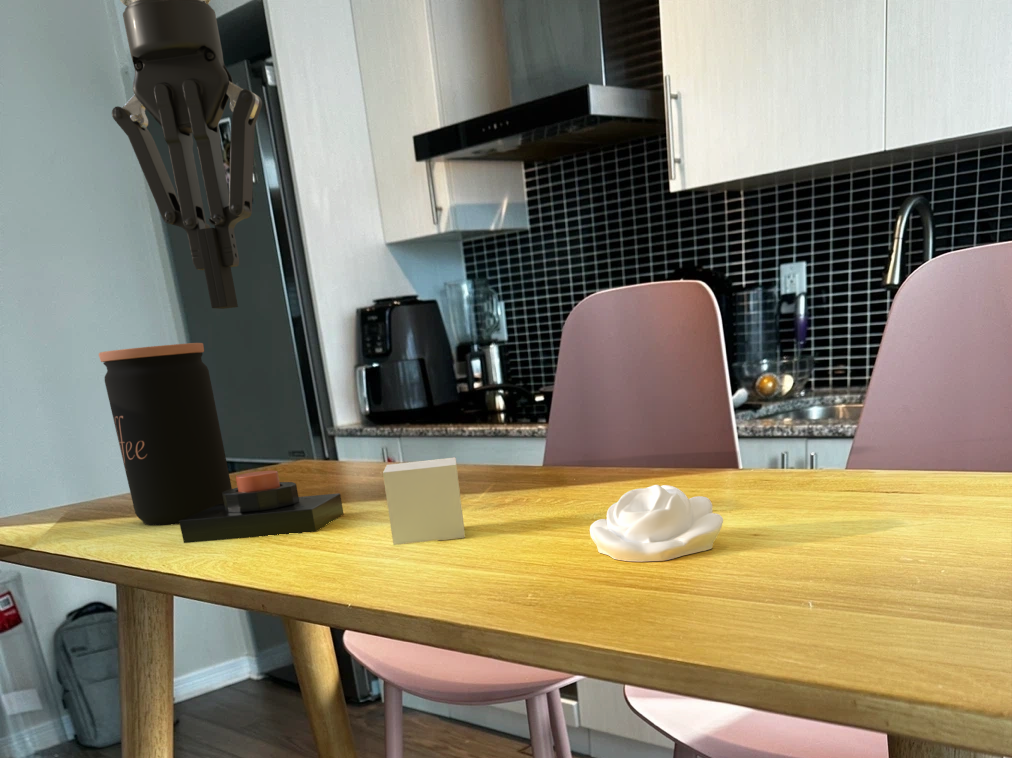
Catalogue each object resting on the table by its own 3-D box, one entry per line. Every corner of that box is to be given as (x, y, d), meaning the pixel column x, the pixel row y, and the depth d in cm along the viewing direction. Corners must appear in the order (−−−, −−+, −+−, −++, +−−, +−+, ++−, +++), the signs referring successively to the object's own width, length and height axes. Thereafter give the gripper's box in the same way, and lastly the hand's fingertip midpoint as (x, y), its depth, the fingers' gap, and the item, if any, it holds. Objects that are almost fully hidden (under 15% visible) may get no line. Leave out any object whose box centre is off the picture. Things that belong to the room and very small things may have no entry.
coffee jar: (140, 518, 119) (103, 353, 112) (235, 505, 121) (203, 344, 115) (134, 531, 109) (92, 351, 103) (237, 517, 111) (202, 341, 105)
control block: (183, 543, 98) (174, 501, 96) (222, 525, 107) (215, 486, 105) (315, 532, 96) (308, 489, 95) (344, 514, 105) (337, 475, 104)
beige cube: (464, 526, 91) (456, 457, 89) (465, 538, 86) (456, 464, 84) (396, 533, 91) (386, 464, 89) (393, 545, 85) (382, 472, 83)
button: (232, 496, 99) (229, 478, 98) (247, 490, 102) (244, 472, 102) (272, 493, 98) (269, 474, 97) (286, 487, 102) (282, 469, 101)
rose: (741, 472, 74) (696, 495, 66) (743, 533, 76) (699, 563, 68) (615, 476, 79) (558, 498, 71) (619, 534, 80) (564, 562, 72)
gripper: (257, 8, 89) (305, 301, 97) (115, 29, 90) (174, 315, 99) (225, -19, 82) (280, 298, 90) (72, 4, 83) (139, 314, 92)
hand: (225, 307), depth 94 cm, fingers closed
